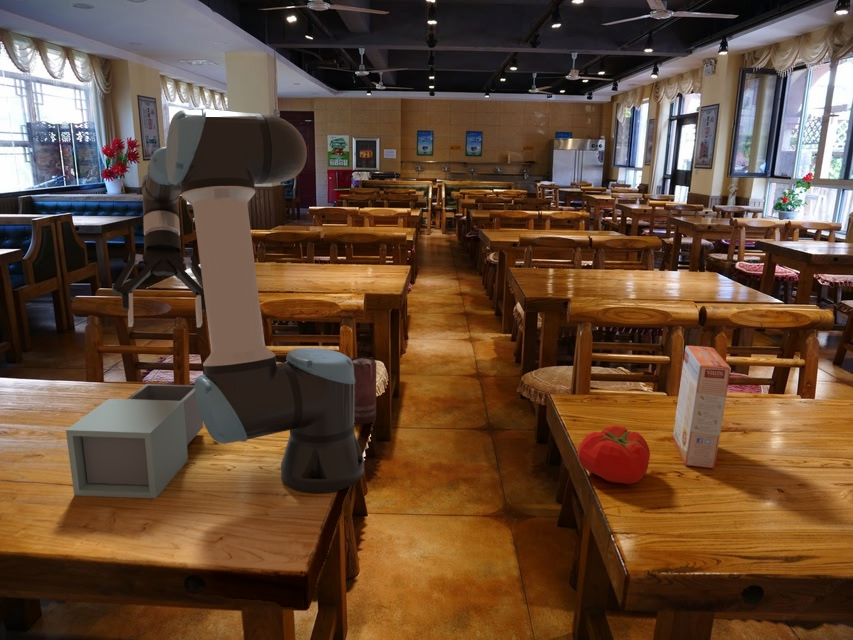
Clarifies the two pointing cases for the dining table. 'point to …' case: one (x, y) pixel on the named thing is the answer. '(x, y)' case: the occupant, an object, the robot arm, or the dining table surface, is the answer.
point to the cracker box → (701, 406)
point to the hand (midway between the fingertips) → (166, 325)
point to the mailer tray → (136, 440)
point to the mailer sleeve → (132, 420)
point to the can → (364, 390)
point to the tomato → (615, 454)
